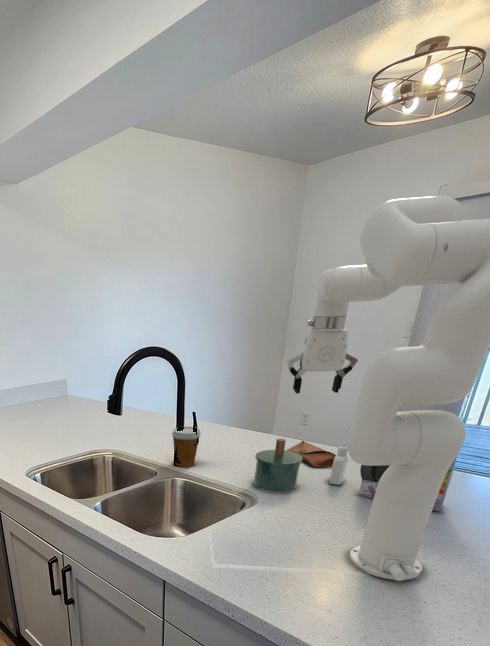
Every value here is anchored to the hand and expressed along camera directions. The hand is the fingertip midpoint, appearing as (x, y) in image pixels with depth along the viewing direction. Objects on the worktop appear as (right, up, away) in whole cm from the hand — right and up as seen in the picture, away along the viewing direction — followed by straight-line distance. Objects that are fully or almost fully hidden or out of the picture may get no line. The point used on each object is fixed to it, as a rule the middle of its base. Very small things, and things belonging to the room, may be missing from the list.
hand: (315, 392), depth 119 cm
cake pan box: (+20, -30, -3) cm, 36 cm away
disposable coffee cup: (-29, -16, +31) cm, 45 cm away
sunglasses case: (+13, -14, +29) cm, 35 cm away
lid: (-7, -17, +6) cm, 20 cm away
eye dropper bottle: (+11, -24, +10) cm, 28 cm away
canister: (-7, -25, +10) cm, 28 cm away
